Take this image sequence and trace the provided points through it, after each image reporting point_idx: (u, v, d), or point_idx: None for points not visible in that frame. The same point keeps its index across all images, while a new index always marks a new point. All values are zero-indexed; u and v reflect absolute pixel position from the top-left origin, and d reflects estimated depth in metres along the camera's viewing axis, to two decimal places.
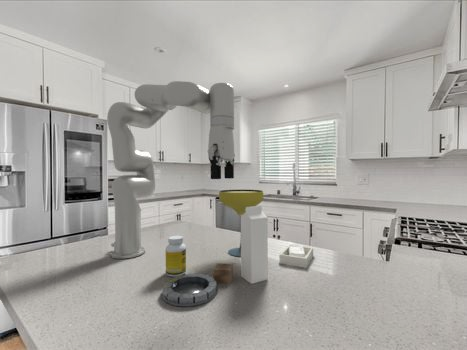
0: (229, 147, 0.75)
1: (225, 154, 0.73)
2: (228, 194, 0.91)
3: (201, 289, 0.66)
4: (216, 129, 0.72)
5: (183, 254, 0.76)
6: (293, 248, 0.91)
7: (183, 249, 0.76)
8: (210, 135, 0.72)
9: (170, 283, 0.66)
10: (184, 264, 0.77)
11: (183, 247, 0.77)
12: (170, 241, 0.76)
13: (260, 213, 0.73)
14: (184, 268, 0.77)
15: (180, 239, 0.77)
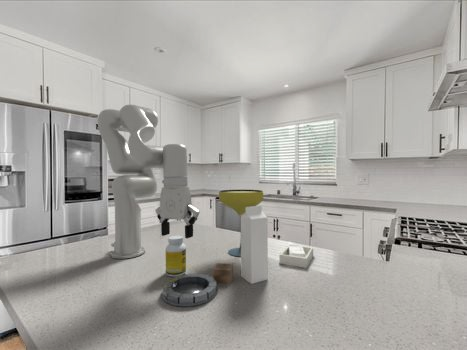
0: None
1: None
2: (228, 194, 0.91)
3: (201, 289, 0.66)
4: (187, 190, 0.76)
5: (183, 254, 0.76)
6: (293, 248, 0.91)
7: (183, 249, 0.76)
8: (184, 195, 0.74)
9: (170, 283, 0.66)
10: (184, 264, 0.77)
11: (183, 247, 0.77)
12: (170, 241, 0.76)
13: (260, 213, 0.73)
14: (184, 268, 0.77)
15: (180, 239, 0.77)
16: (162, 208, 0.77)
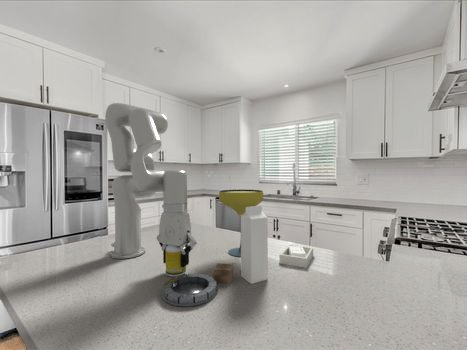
0: None
1: None
2: (228, 194, 0.91)
3: (201, 289, 0.66)
4: (187, 216, 0.76)
5: None
6: (293, 248, 0.91)
7: None
8: (183, 223, 0.74)
9: (170, 283, 0.66)
10: None
11: None
12: None
13: (260, 213, 0.73)
14: (184, 268, 0.77)
15: None
16: (161, 233, 0.77)
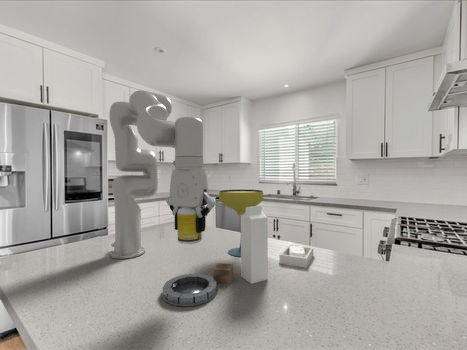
0: None
1: None
2: (228, 194, 0.91)
3: (201, 289, 0.66)
4: (203, 172, 0.63)
5: None
6: (293, 248, 0.92)
7: None
8: (199, 179, 0.61)
9: (170, 283, 0.66)
10: None
11: None
12: None
13: (260, 213, 0.73)
14: (200, 235, 0.64)
15: None
16: (173, 194, 0.64)
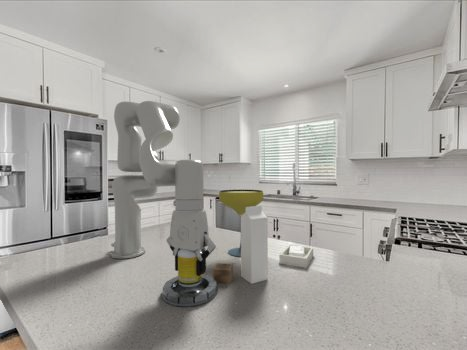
0: None
1: None
2: (228, 194, 0.91)
3: (201, 289, 0.66)
4: (204, 215, 0.63)
5: None
6: (293, 248, 0.92)
7: None
8: (200, 222, 0.62)
9: (170, 283, 0.66)
10: None
11: None
12: None
13: (260, 213, 0.73)
14: (200, 277, 0.64)
15: None
16: (173, 235, 0.64)
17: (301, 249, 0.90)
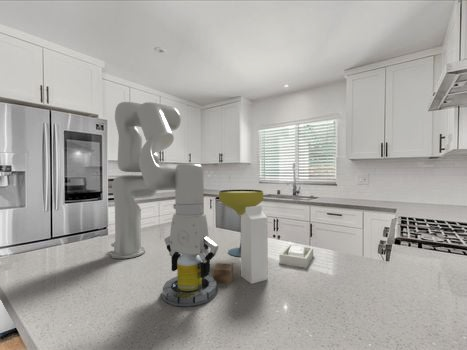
0: None
1: None
2: (228, 194, 0.91)
3: (201, 289, 0.66)
4: (204, 219, 0.63)
5: (198, 268, 0.64)
6: (293, 247, 0.92)
7: (198, 262, 0.64)
8: (200, 227, 0.61)
9: (170, 283, 0.66)
10: (200, 279, 0.64)
11: (198, 259, 0.64)
12: None
13: (260, 213, 0.73)
14: (200, 284, 0.64)
15: None
16: (173, 240, 0.64)
17: (301, 249, 0.90)
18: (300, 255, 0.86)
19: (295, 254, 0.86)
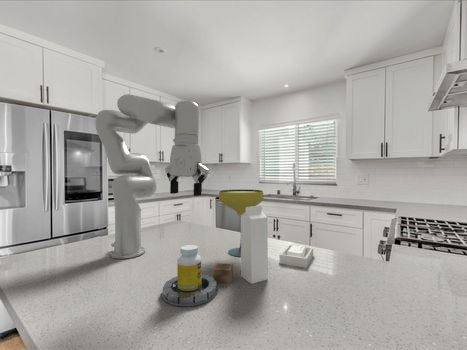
0: None
1: None
2: (228, 194, 0.91)
3: (201, 289, 0.66)
4: (198, 148, 0.76)
5: (198, 267, 0.64)
6: (293, 247, 0.92)
7: (198, 262, 0.64)
8: (194, 153, 0.74)
9: (170, 283, 0.66)
10: (200, 279, 0.64)
11: (198, 259, 0.64)
12: (183, 252, 0.64)
13: (260, 213, 0.73)
14: (200, 284, 0.64)
15: (195, 250, 0.64)
16: (172, 165, 0.77)
17: (301, 249, 0.90)
18: (299, 255, 0.86)
19: (294, 254, 0.87)
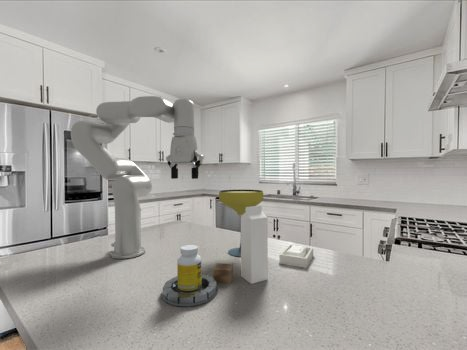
0: None
1: None
2: (228, 194, 0.91)
3: (201, 289, 0.66)
4: (194, 138, 0.89)
5: (198, 268, 0.64)
6: (294, 247, 0.92)
7: (198, 262, 0.64)
8: (191, 142, 0.87)
9: (170, 283, 0.66)
10: (200, 279, 0.64)
11: (198, 259, 0.64)
12: (183, 252, 0.64)
13: (260, 213, 0.73)
14: (200, 284, 0.64)
15: (195, 250, 0.64)
16: (172, 154, 0.90)
17: (300, 249, 0.90)
18: (297, 255, 0.86)
19: (293, 253, 0.87)
